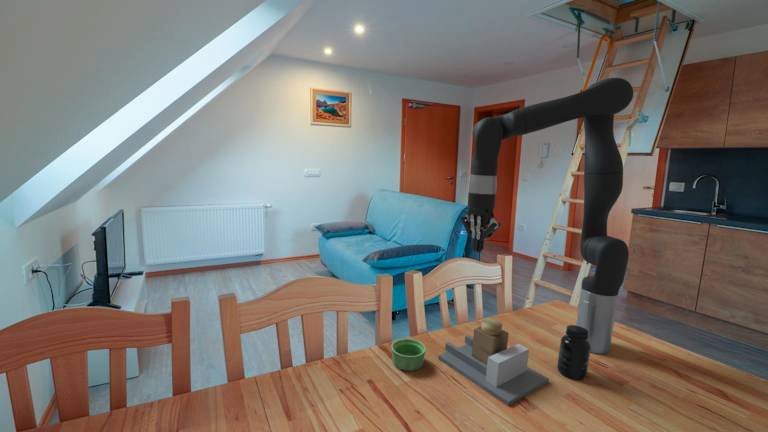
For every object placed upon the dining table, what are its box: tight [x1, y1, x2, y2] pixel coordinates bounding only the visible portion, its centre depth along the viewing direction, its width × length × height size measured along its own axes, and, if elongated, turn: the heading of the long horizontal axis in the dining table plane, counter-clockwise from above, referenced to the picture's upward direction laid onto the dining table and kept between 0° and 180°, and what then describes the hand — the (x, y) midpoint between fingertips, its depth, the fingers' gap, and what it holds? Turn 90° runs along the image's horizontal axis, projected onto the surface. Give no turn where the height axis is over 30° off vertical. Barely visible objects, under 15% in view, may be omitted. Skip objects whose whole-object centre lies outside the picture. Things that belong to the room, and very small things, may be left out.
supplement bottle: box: [556, 324, 591, 381], centre depth 92 cm, size 7×7×12 cm
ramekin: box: [391, 338, 427, 372], centre depth 94 cm, size 9×9×4 cm
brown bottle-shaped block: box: [472, 318, 509, 365], centre depth 92 cm, size 6×6×11 cm
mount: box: [437, 334, 550, 406], centre depth 93 cm, size 16×23×7 cm
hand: (477, 251), depth 104 cm, fingers closed
